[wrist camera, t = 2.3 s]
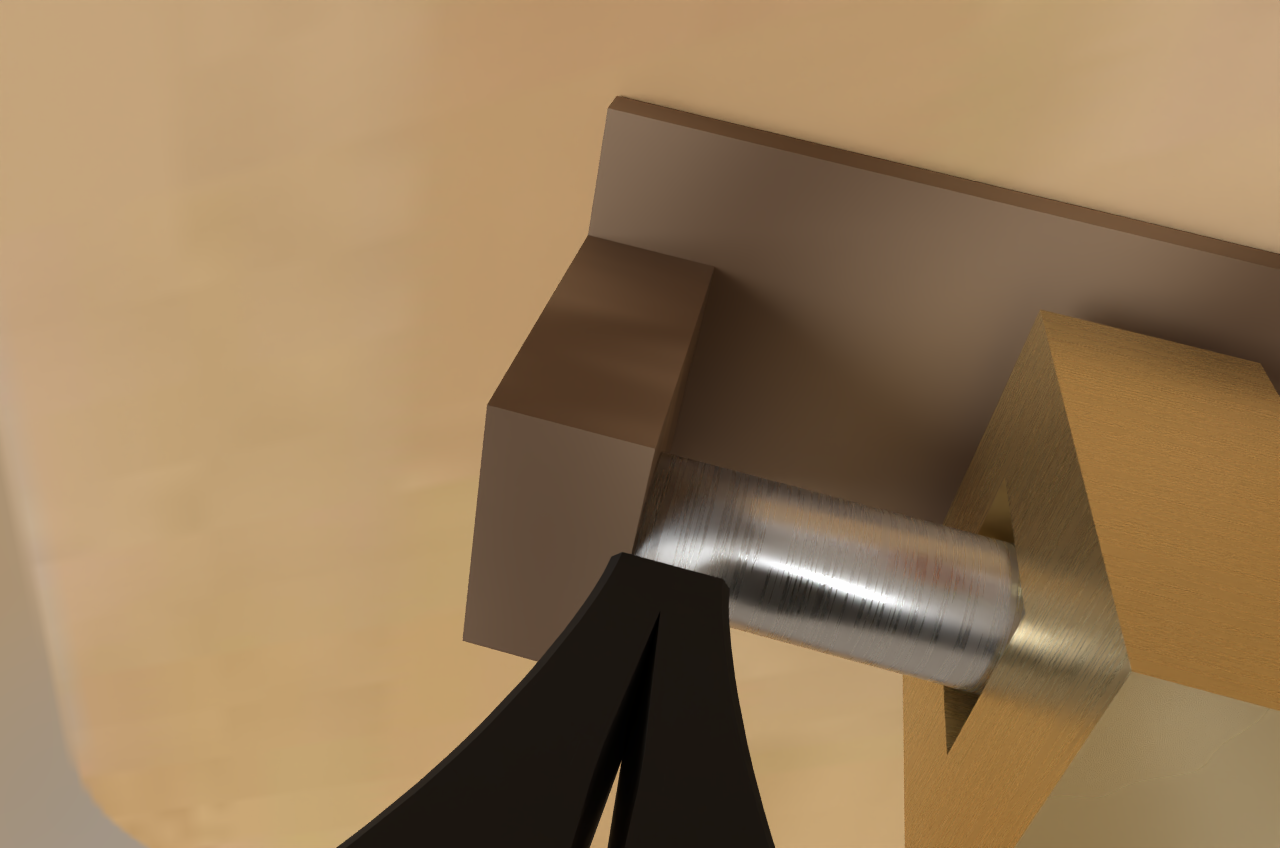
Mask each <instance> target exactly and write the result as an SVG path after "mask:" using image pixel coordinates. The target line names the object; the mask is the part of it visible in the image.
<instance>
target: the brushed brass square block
mask: <svg viewBox="0 0 1280 848" xmlns="http://www.w3.org/2000/svg"><path fill="white" fill-rule="evenodd" d="M942 525H944V526H948V527H952V528H956V529H959V530H963V531H967V532H971V533H975V534H979V535H982V536H986V537H990V538H994V539H998V540H1001V541H1005V542H1009V543H1013V544H1015V548H1016V555H1017V561H1018V568H1019V575H1020V581H1021V588H1022V595H1023V601H1024V608H1025V615H1024V617H1023V619H1022V621H1021V622H1020V624H1019V626H1018V628H1017V630H1016V631H1015V633H1014V635H1013V637H1012V639H1011V641H1010V642H1009V644H1008V646H1007V648H1006V650H1005V651H1004V653H1003V655H1002V657H1001V659H1000V660H999V662H998V664H997V666H996V668H995V670H994V671H993V673H992V675H991V677H990V679H989V680H988V682H987V684H986V686H985V688H984V689H983V691H982V693H981V695H977V694H974V693H970V692H966V691H963V690H959V689H955V688H952V687H948V686H944V685H941V684H937V683H933V682H929V681H926V680H922V679H918V678H915V677H911V676H907V675H904V674H903V723H904V809H905V848H1280V397H1279V395H1278V393H1277V391H1276V390H1275V388H1274V386H1273V384H1272V383H1271V381H1270V379H1269V377H1268V376H1267V374H1266V372H1265V371H1264V369H1263V367H1262V365H1261V364H1260V363H1257V362H1253V361H1249V360H1245V359H1241V358H1237V357H1233V356H1229V355H1225V354H1220V353H1216V352H1212V351H1208V350H1204V349H1200V348H1196V347H1192V346H1188V345H1184V344H1180V343H1176V342H1172V341H1168V340H1164V339H1160V338H1156V337H1151V336H1147V335H1143V334H1139V333H1135V332H1131V331H1127V330H1123V329H1119V328H1115V327H1111V326H1107V325H1103V324H1099V323H1095V322H1091V321H1087V320H1083V319H1078V318H1074V317H1070V316H1066V315H1062V314H1058V313H1054V312H1050V311H1046V310H1042V309H1040V310H1039V313H1038V315H1037V317H1036V319H1035V322H1034V324H1033V326H1032V328H1031V330H1030V333H1029V335H1028V337H1027V339H1026V341H1025V344H1024V346H1023V348H1022V350H1021V352H1020V355H1019V357H1018V359H1017V361H1016V363H1015V366H1014V368H1013V370H1012V372H1011V374H1010V377H1009V379H1008V381H1007V383H1006V385H1005V388H1004V390H1003V392H1002V394H1001V397H1000V399H999V401H998V403H997V405H996V408H995V410H994V412H993V414H992V416H991V419H990V421H989V423H988V425H987V427H986V430H985V432H984V434H983V436H982V438H981V441H980V443H979V445H978V447H977V449H976V452H975V454H974V456H973V458H972V461H971V463H970V465H969V467H968V469H967V472H966V474H965V476H964V478H963V480H962V483H961V485H960V487H959V489H958V491H957V494H956V496H955V498H954V500H953V502H952V505H951V507H950V509H949V511H948V513H947V516H946V518H945V520H944V522H943V524H942Z"/></svg>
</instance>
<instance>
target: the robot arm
mask: <svg viewBox="0 0 1280 848" xmlns="http://www.w3.org/2000/svg"><path fill="white" fill-rule="evenodd" d="M729 592H730V588H729V587H728V585H727V584H726V583H725V581H724V580H723V579H721V578H718V577H714V576H710V575H707V574H703V573H699V572H695V571H692V570H688V569H684V568H681V567H677V566H673V565H669V564H666V563H662V562H658V561H654V560H651V559H647V558H643V557H640V556H636V555H632V554H628V553H625V552H621V553H619V554H616V555H614V556H611V558H610V560H609V562H608V564H607V566H606V569H605V570H604V572H603V574H602V576H601V577H600V579H599V581H598V582H597V584H596V586H595V587H594V589H593V590H592V592H591V593H590V595H589V596H588V598H587V599H586V601H585V602H584V604H583V605H582V606H581V608H580V609H579V610H578V612H577V613H576V615H575V616H574V617H573V619H572V620H571V621H570V623H569V624H568V625H567V627H566V628H565V629H564V631H563V632H562V633H561V634H560V635H559V637H558V638H557V639H556V640H555V642H554V643H553V644H552V645H551V646H550V648H549V649H548V650H547V651H546V653H545V654H544V655H543V656H542V657H541V659H540V660H539V661H538V662H537V663H536V665H535V666H534V667H533V668H532V669H531V671H530V672H529V673H528V674H527V675H526V676H525V677H524V679H523V680H522V681H521V682H520V683H519V684H518V685H517V686H516V687H515V688H514V689H513V690H512V691H511V692H510V694H509V695H508V696H507V697H506V698H505V699H504V700H503V701H502V702H501V703H500V704H499V705H498V706H497V707H496V708H495V709H494V710H493V712H492V713H491V714H490V715H489V716H488V717H487V718H486V719H485V720H484V721H483V722H482V723H481V724H480V725H479V726H478V727H477V728H476V729H475V730H474V731H473V732H472V733H471V734H470V735H469V736H468V737H467V738H466V739H465V740H464V741H463V742H462V743H461V744H460V745H459V746H458V747H456V748H455V749H454V750H453V751H452V752H451V753H450V754H449V755H448V756H447V757H446V758H445V759H444V760H442V761H441V762H440V763H439V764H438V765H437V766H436V767H435V768H434V769H432V770H431V771H430V772H429V773H428V774H427V775H426V776H425V777H424V778H422V779H421V780H420V781H419V782H418V783H417V784H416V785H414V786H413V787H412V788H411V789H409V790H408V791H407V792H406V793H405V794H403V795H402V796H401V797H400V798H399V799H397V800H396V801H395V802H394V803H393V804H391V805H390V806H389V807H388V808H386V809H385V810H384V811H383V812H382V813H380V814H379V815H378V816H377V817H376V818H374V819H373V820H372V821H371V822H369V823H368V824H367V825H366V826H364V827H363V828H362V829H360V830H359V831H358V832H357V833H355V834H354V835H353V836H351V837H350V838H349V839H347V840H346V841H345V842H343V843H342V844H341V845H339V846H338V847H337V848H590V845H591V843H592V840H593V837H594V834H595V832H596V829H597V826H598V823H599V821H600V818H601V815H602V813H603V810H604V807H605V804H606V802H607V799H608V796H609V793H610V791H611V788H612V785H613V782H614V780H615V777H616V774H617V771H618V769H619V766H620V763H621V768H620V774H619V780H618V787H617V793H616V799H615V805H614V811H613V817H612V823H611V830H610V836H609V842H608V848H775V846H774V842H773V839H772V836H771V833H770V829H769V826H768V822H767V819H766V815H765V812H764V809H763V805H762V801H761V797H760V793H759V789H758V786H757V782H756V778H755V774H754V770H753V766H752V762H751V757H750V753H749V749H748V745H747V740H746V734H745V729H744V724H743V719H742V714H741V709H740V704H739V699H738V693H737V686H736V680H735V673H734V665H733V657H732V649H731V638H730V624H729ZM621 760H622V762H621Z"/></svg>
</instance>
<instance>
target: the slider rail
mask: <svg viewBox="0 0 1280 848" xmlns="http://www.w3.org/2000/svg"><path fill="white" fill-rule="evenodd" d="M1040 309H1042V310H1046V311H1050V312H1054V313H1058V314H1062V315H1066V316H1070V317H1074V318H1078V319H1083V320H1087V321H1091V322H1095V323H1099V324H1103V325H1107V326H1111V327H1115V328H1119V329H1123V330H1127V331H1131V332H1135V333H1139V334H1143V335H1147V336H1151V337H1156V338H1160V339H1164V340H1168V341H1172V342H1176V343H1180V344H1184V345H1188V346H1192V347H1196V348H1200V349H1204V350H1208V351H1212V352H1216V353H1220V354H1225V355H1229V356H1233V357H1237V358H1241V359H1245V360H1249V361H1253V362H1257V363H1260V364H1261V365H1262V367H1263V369H1264V371H1265V372H1266V374H1267V376H1268V377H1269V379H1270V381H1271V383H1272V384H1273V386H1274V388H1275V390H1276V391H1277V393H1278V395H1279V397H1280V254H1275V253H1271V252H1267V251H1263V250H1259V249H1255V248H1250V247H1246V246H1242V245H1238V244H1234V243H1229V242H1225V241H1221V240H1217V239H1213V238H1209V237H1204V236H1200V235H1196V234H1192V233H1188V232H1184V231H1179V230H1175V229H1171V228H1167V227H1163V226H1158V225H1154V224H1150V223H1146V222H1142V221H1138V220H1133V219H1129V218H1125V217H1121V216H1117V215H1113V214H1108V213H1104V212H1100V211H1096V210H1092V209H1087V208H1083V207H1079V206H1075V205H1071V204H1067V203H1062V202H1058V201H1054V200H1050V199H1046V198H1042V197H1037V196H1033V195H1029V194H1025V193H1021V192H1016V191H1012V190H1008V189H1004V188H1000V187H996V186H991V185H987V184H983V183H979V182H975V181H971V180H966V179H962V178H958V177H954V176H950V175H945V174H941V173H937V172H933V171H929V170H925V169H920V168H916V167H912V166H908V165H904V164H900V163H895V162H891V161H887V160H883V159H879V158H874V157H870V156H866V155H862V154H858V153H854V152H849V151H845V150H841V149H837V148H833V147H829V146H824V145H820V144H816V143H812V142H808V141H803V140H799V139H795V138H791V137H787V136H783V135H778V134H774V133H770V132H766V131H762V130H758V129H753V128H749V127H745V126H741V125H737V124H732V123H728V122H724V121H720V120H716V119H712V118H707V117H703V116H699V115H695V114H691V113H687V112H682V111H678V110H674V109H670V108H666V107H661V106H657V105H653V104H649V103H645V102H641V101H636V100H632V99H628V98H624V97H620V96H616V98H615V99H614V101H613V102H612V103H611V105H610V106H609V107H608V111H607V117H606V124H605V130H604V136H603V143H602V149H601V156H600V162H599V169H598V175H597V181H596V188H595V194H594V201H593V207H592V214H591V220H590V226H589V233H588V236H587V238H586V240H585V241H584V243H583V245H582V246H581V248H580V250H579V251H578V253H577V255H576V256H575V258H574V260H573V261H572V263H571V265H570V266H569V268H568V270H567V271H566V273H565V275H564V277H563V278H562V280H561V282H560V283H559V285H558V287H557V288H556V290H555V292H554V293H553V295H552V297H551V298H550V300H549V302H548V303H547V305H546V307H545V308H544V310H543V312H542V314H541V315H540V317H539V319H538V320H537V322H536V324H535V325H534V327H533V329H532V330H531V332H530V334H529V335H528V337H527V339H526V340H525V342H524V344H523V346H522V347H521V349H520V351H519V352H518V354H517V356H516V357H515V359H514V361H513V362H512V364H511V366H510V367H509V369H508V371H507V372H506V374H505V376H504V377H503V379H502V381H501V383H500V384H499V386H498V388H497V389H496V391H495V393H494V394H493V396H492V398H491V399H490V401H489V403H488V404H487V412H486V421H485V431H484V440H483V450H482V460H481V469H480V479H479V488H478V498H477V507H476V517H475V527H474V536H473V546H472V555H471V565H470V575H469V584H468V594H467V603H466V613H465V622H464V632H463V641H466V642H469V643H473V644H477V645H480V646H484V647H487V648H491V649H495V650H498V651H502V652H505V653H509V654H513V655H516V656H520V657H523V658H527V659H531V660H534V661H539V660H540V659H541V657H542V656H543V655H544V654H545V653H546V651H547V650H548V649H549V648H550V646H551V645H552V644H553V643H554V642H555V640H556V639H557V638H558V637H559V635H560V634H561V633H562V632H563V631H564V629H565V628H566V627H567V625H568V624H569V623H570V621H571V620H572V619H573V617H574V616H575V615H576V613H577V612H578V610H579V609H580V608H581V606H582V605H583V604H584V602H585V601H586V599H587V598H588V596H589V595H590V593H591V592H592V590H593V589H594V587H595V586H596V584H597V582H598V581H599V579H600V577H601V576H602V574H603V572H604V570H605V569H606V566H607V564H608V562H609V560H610V558H611V556H614V555H616V554H619V553H621V552H625V553H628V554H632V550H633V546H634V542H635V538H636V534H637V531H638V527H639V523H640V519H641V515H642V512H643V508H644V504H645V501H646V497H647V494H648V490H649V487H650V483H651V480H652V476H653V473H654V470H655V467H656V464H657V461H658V458H659V455H660V453H661V452H665V453H669V454H673V455H677V456H680V457H684V458H688V459H692V460H696V461H699V462H703V463H707V464H711V465H715V466H719V467H722V468H726V469H730V470H734V471H738V472H742V473H745V474H749V475H753V476H757V477H761V478H764V479H768V480H772V481H776V482H780V483H784V484H787V485H791V486H795V487H799V488H803V489H807V490H810V491H814V492H818V493H822V494H826V495H829V496H833V497H837V498H841V499H845V500H849V501H852V502H856V503H860V504H864V505H868V506H871V507H875V508H879V509H883V510H887V511H891V512H894V513H898V514H902V515H906V516H910V517H914V518H917V519H921V520H925V521H929V522H933V523H936V524H940V525H942V524H943V522H944V520H945V518H946V516H947V513H948V511H949V509H950V507H951V505H952V502H953V500H954V498H955V496H956V494H957V491H958V489H959V487H960V485H961V483H962V480H963V478H964V476H965V474H966V472H967V469H968V467H969V465H970V463H971V461H972V458H973V456H974V454H975V452H976V449H977V447H978V445H979V443H980V441H981V438H982V436H983V434H984V432H985V430H986V427H987V425H988V423H989V421H990V419H991V416H992V414H993V412H994V410H995V408H996V405H997V403H998V401H999V399H1000V397H1001V394H1002V392H1003V390H1004V388H1005V385H1006V383H1007V381H1008V379H1009V377H1010V374H1011V372H1012V370H1013V368H1014V366H1015V363H1016V361H1017V359H1018V357H1019V355H1020V352H1021V350H1022V348H1023V346H1024V344H1025V341H1026V339H1027V337H1028V335H1029V333H1030V330H1031V328H1032V326H1033V324H1034V322H1035V319H1036V317H1037V315H1038V313H1039V310H1040Z"/></svg>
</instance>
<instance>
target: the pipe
mask: <svg viewBox="0 0 1280 848" xmlns="http://www.w3.org/2000/svg"><path fill="white" fill-rule="evenodd" d="M632 555H636V556H640V557H643V558H647V559H651V560H654V561H658V562H662V563H666V564H669V565H673V566H677V567H681V568H684V569H688V570H692V571H695V572H699V573H703V574H707V575H710V576H714V577H718V578H721V579H723V580H724V581H725V583H726V584H727V585H728V587H729V588H730V592H729V624H730V627H731V628H734V629H738V630H742V631H745V632H749V633H753V634H756V635H760V636H764V637H768V638H771V639H775V640H779V641H782V642H786V643H790V644H793V645H797V646H801V647H804V648H808V649H812V650H815V651H819V652H823V653H826V654H830V655H834V656H837V657H841V658H845V659H848V660H852V661H856V662H860V663H863V664H867V665H871V666H874V667H878V668H882V669H885V670H889V671H893V672H896V673H900V674H904V675H907V676H911V677H915V678H918V679H922V680H926V681H929V682H933V683H937V684H941V685H944V686H948V687H952V688H955V689H959V690H963V691H966V692H970V693H974V694H977V695H981V693H982V691H983V689H984V688H985V686H986V684H987V682H988V680H989V679H990V677H991V675H992V673H993V671H994V670H995V668H996V666H997V664H998V662H999V660H1000V659H1001V657H1002V655H1003V653H1004V651H1005V650H1006V648H1007V646H1008V644H1009V642H1010V641H1011V639H1012V637H1013V635H1014V633H1015V631H1016V630H1017V628H1018V626H1019V624H1020V622H1021V621H1022V619H1023V617H1024V615H1025V608H1024V601H1023V595H1022V588H1021V581H1020V575H1019V568H1018V561H1017V555H1016V548H1015V544H1013V543H1009V542H1005V541H1001V540H998V539H994V538H990V537H986V536H982V535H979V534H975V533H971V532H967V531H963V530H959V529H956V528H952V527H948V526H944V525H940V524H936V523H933V522H929V521H925V520H921V519H917V518H914V517H910V516H906V515H902V514H898V513H894V512H891V511H887V510H883V509H879V508H875V507H871V506H868V505H864V504H860V503H856V502H852V501H849V500H845V499H841V498H837V497H833V496H829V495H826V494H822V493H818V492H814V491H810V490H807V489H803V488H799V487H795V486H791V485H787V484H784V483H780V482H776V481H772V480H768V479H764V478H761V477H757V476H753V475H749V474H745V473H742V472H738V471H734V470H730V469H726V468H722V467H719V466H715V465H711V464H707V463H703V462H699V461H696V460H692V459H688V458H684V457H680V456H677V455H673V454H669V453H665V452H661V453H660V455H659V458H658V461H657V464H656V467H655V470H654V473H653V476H652V480H651V483H650V487H649V490H648V494H647V497H646V501H645V504H644V508H643V512H642V515H641V519H640V523H639V527H638V531H637V534H636V538H635V542H634V546H633V550H632Z"/></svg>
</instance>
